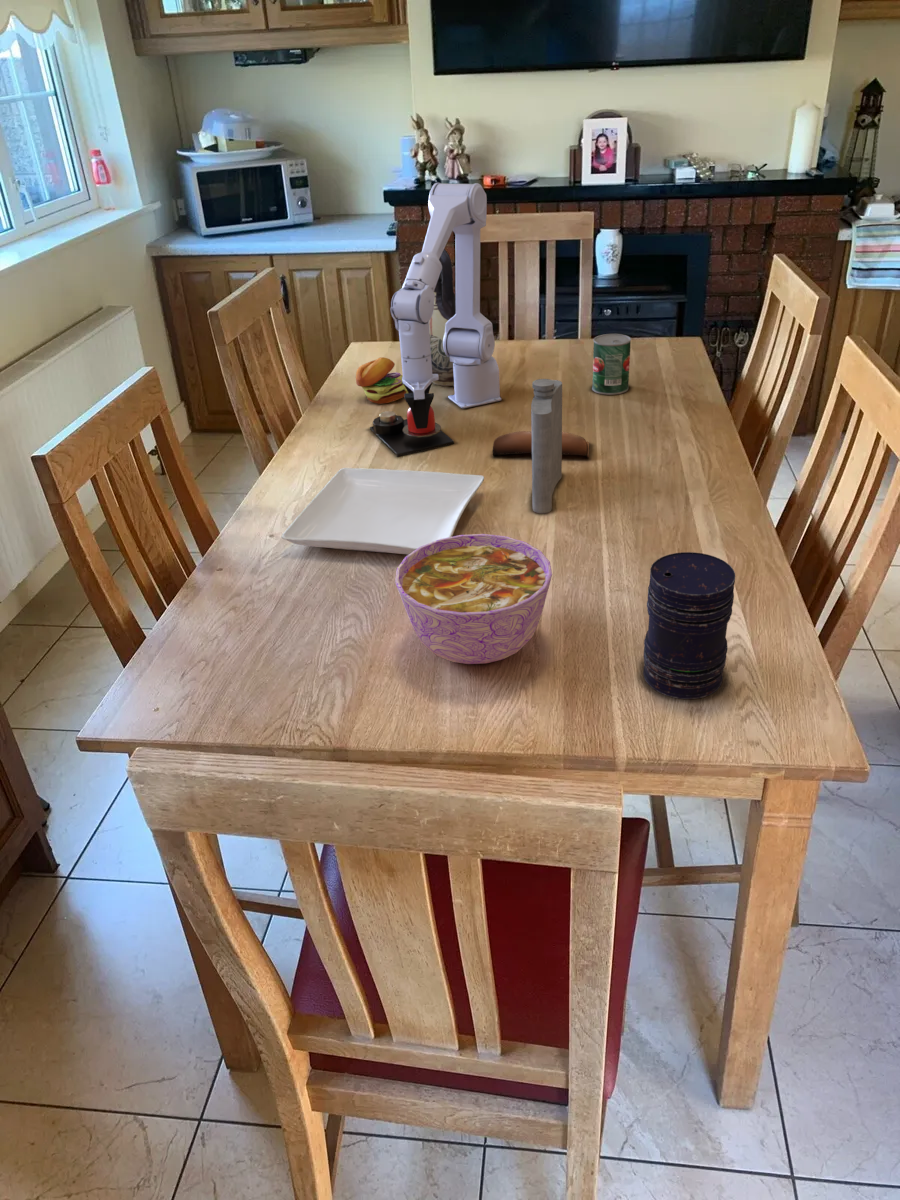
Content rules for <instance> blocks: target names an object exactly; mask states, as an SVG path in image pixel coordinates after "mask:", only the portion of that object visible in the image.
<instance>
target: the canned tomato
mask: <svg viewBox="0 0 900 1200" xmlns="http://www.w3.org/2000/svg"><path fill="white" fill-rule="evenodd" d="M631 342H632V338H631V337H630V336H629V335H626V334H622V333H606V334H599V335H597V336H595V337H593V354H592V386H591V390H592V391H593V392H594V393H596V394H599V395H605V396H606V395H607V396H614V395H620V394H624V393H626V392H627V391H629V388H630V387H629V383H630V366H631V365H630V363H631V361H630V360H631Z"/></svg>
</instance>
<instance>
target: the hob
mask: <svg viewBox="0 0 900 1200" xmlns="http://www.w3.org/2000/svg"><path fill="white" fill-rule="evenodd" d="M406 425H408V421H407V418H406V419H404V418H403V417H402V416H401V415H399V414H396V422H394V423H391V424H383V423H380V415H379V416H377V417H376V418H374V419H373V420H372V426H369V430H370V432H371V433H373V434H374V435H375V436H376V437H377V438H378V439H379V441H381V442H382V443H383V444H384V445H385V447H387V448H388V449H389V450H390V451H391V452H392V454H394V455H395V456H396V457H403V456H407V455H411V454H417V453H420V452H425V451H428V450H433V449H438V448H442V447H447V446H450V445H455V441H454V439H452V438H450V436H448V435H447V434H446V433H445V432H444V431H442V430H440V431H439V432H438V433H437V434H435V435H432V436H427V437H411V436H407V435H405V434H404V433H403V428H404V427H405V426H406Z"/></svg>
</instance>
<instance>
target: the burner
mask: <svg viewBox="0 0 900 1200" xmlns="http://www.w3.org/2000/svg"><path fill="white" fill-rule="evenodd" d="M441 429H442V427H441V425H440V424H439V423H437V422H435V429H434V430H433V431H431V432H427V433H412V432H410V431H409V430H408V425H406V426H405V427H404V428H403V433H404V434H405V435H407V436H411V437H427V436H432V435H435V434H437V433H438V432H439V431H440V430H441ZM441 431H442V430H441Z"/></svg>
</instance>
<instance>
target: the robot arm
mask: <svg viewBox="0 0 900 1200" xmlns="http://www.w3.org/2000/svg"><path fill="white" fill-rule="evenodd" d="M487 200H488V198H487V193H486V192H485V190H484V188H483V185H481V184H480V183H478V182H475V183H442V182H435V183H433V185H432V187H431V189H430V190H429V195H428V201H427V202H428V203H427V205H428V212H429V216H430V219H429V222H428V226H427V231H426V234H425V238H424V241H423V245H422V250H421V251H420V252H417V253H416V254H414V255H413V257H412V260H411V263H410V265H409V268H408V271H407V273H406V276H405V279H404V281H403V283H402V288H399V290H397V291H395V292H394V293H393V295H392V298H391V301H390V308H389V309H390V315H391V317H392V319H393V321H394V326H395V327H394V328H395V329H396V331H397V332H398V336H399V337H398V338H399V350H400V360H401V371H402V372H401V373H402V376H403V377H402V382H403V384H404V386H405V387H406V389H407V391H408V393H406V394H404V397H403V398H404V400H405V402H406V404H407V405H408V408H409V407H410V409H411V412H412V415H413V419H414V423H415V426H416V428H417V429H421V428H427V425H428V418H429V410H430V406H431V407H432V403H433V401H434V398H435V393H434V392H430V390H431V387H432V385H433V383H432V382H433V381H436V380H439V376H438V374H432V362H431V349H430V334H429V320H430V319H431V317H432V315H433V310H434V299H435V294H434V289H435V287H436V284H437V281H438V278H439V276H440V273H441V270H442V265H441V262H440V261H439V258H440V256H441V254H442V252H443V250H444V249H445V247H446V245H447V243H448V241H449V239H450V237H451V235H452V233H454V235H455V236H454V237H455V239H454V241H455V242H454V243H455V244H454V245H455V249H454V250H455V294H456V314H455V315H454V316H453V317H452V318H450V319H449V320H448V321H447V322H446V325H445V335H444V338H443V349H444V352H445V354H446V355H447V356H448V357H450V362H453V374H454V386H453V387H454V390H453V391H454V393H453V394H449V395H448V396H447V399H449V400H450V401H451V402H453V403H454V404H455V405H457V406H458V407H459V408H460V409H469V408H472V407H477V406H482V405H487V404H491V403H496V402H500V401H502V397H501V388H500V385H501V383H500V368H499V364H498V362H497V360H496V358H495V357H494V356H493V355H494V351H495V347H496V346H495V345H496V343H495V342H496V341H495V336H494V330H493V328H494V327H493V323H492V322H491V320H489V319H488V318H487V317H485V315H483V314H482V313H481V229H483V228H485V227H486V226H487V211H488V210H487V208H488V207H487V205H488V203H487V202H488V201H487ZM465 328H466V329H465Z"/></svg>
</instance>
